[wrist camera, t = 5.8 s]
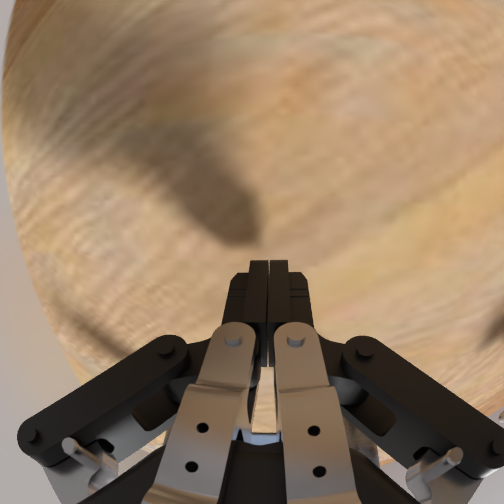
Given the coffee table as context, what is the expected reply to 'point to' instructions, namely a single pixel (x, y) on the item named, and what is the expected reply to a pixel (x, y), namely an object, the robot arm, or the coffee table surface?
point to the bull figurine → (501, 417)
